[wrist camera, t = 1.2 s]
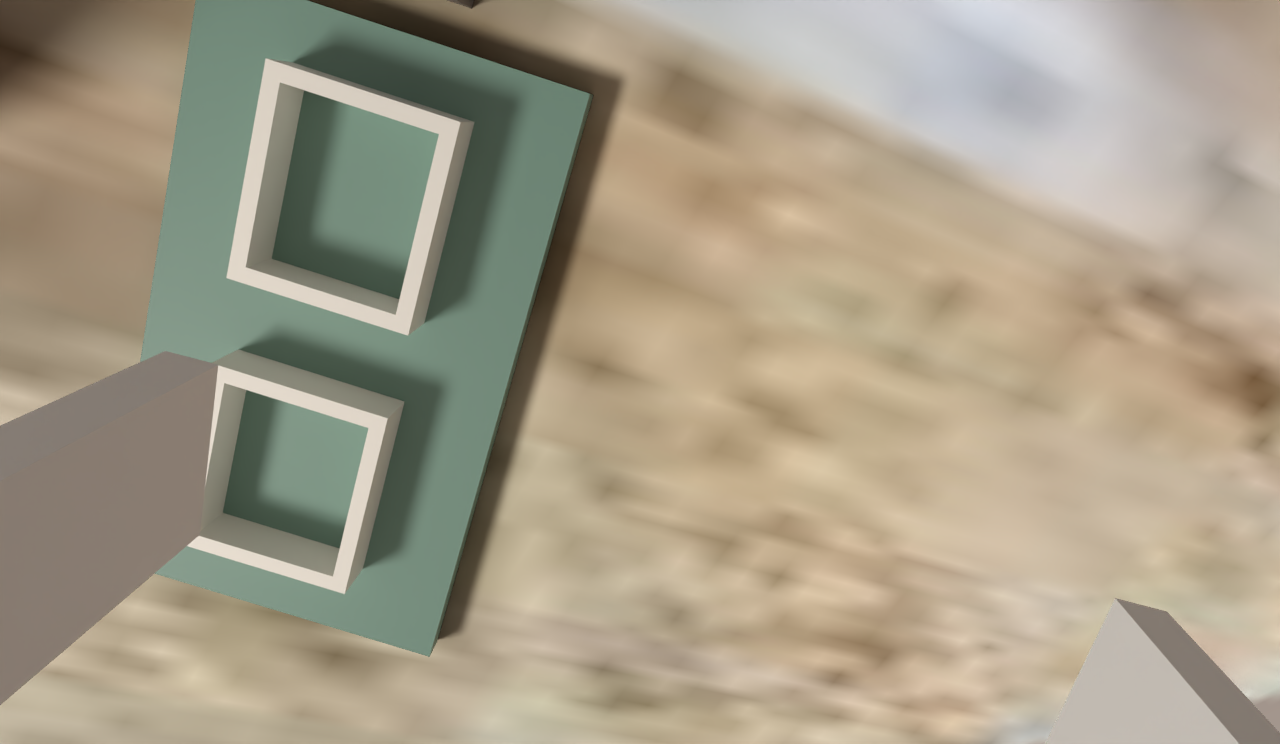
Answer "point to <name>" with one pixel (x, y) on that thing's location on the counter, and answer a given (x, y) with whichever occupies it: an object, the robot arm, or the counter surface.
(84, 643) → the counter surface
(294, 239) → the board
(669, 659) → the counter surface
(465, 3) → the plug
